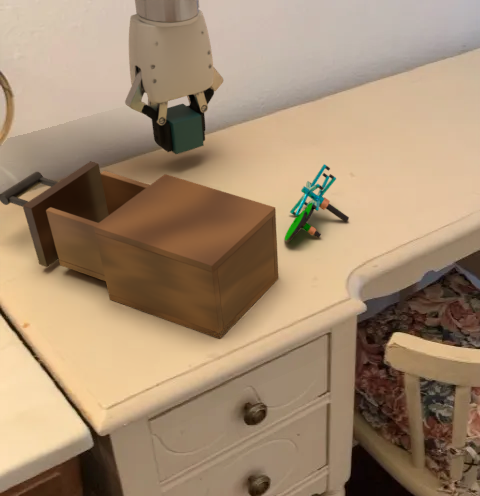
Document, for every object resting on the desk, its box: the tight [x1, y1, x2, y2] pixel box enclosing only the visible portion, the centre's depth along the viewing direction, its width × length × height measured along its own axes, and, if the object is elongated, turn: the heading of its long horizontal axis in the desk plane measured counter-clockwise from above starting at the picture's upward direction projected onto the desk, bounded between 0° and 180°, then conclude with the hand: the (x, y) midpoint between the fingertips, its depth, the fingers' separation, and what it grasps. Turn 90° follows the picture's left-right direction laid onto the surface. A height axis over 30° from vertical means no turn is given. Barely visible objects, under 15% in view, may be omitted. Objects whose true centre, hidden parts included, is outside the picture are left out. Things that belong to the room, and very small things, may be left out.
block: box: [166, 103, 204, 155], centre depth 113 cm, size 4×4×4 cm
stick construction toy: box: [284, 163, 350, 243], centre depth 106 cm, size 12×7×8 cm
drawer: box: [0, 161, 150, 282], centre depth 97 cm, size 20×11×8 cm, turn 65°
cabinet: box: [94, 173, 280, 340], centre depth 93 cm, size 15×13×10 cm
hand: (180, 141), depth 114 cm, fingers closed on block, 4 cm apart
